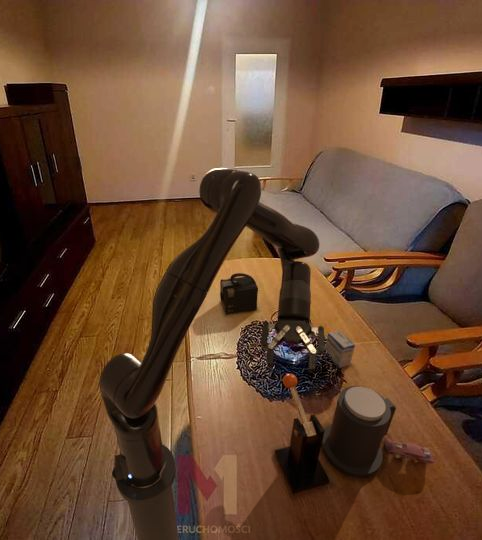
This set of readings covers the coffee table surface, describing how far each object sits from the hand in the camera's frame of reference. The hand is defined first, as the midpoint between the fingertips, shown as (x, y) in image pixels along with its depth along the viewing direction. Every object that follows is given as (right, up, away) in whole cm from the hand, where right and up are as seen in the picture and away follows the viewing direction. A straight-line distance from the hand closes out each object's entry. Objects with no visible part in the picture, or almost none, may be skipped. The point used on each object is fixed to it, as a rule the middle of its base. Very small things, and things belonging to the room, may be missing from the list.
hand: (290, 369), depth 78 cm
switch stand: (+4, -25, +5) cm, 26 cm away
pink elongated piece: (+30, -24, +7) cm, 39 cm away
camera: (-6, +8, +63) cm, 64 cm away
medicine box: (+24, -7, +36) cm, 44 cm away
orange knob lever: (+2, -9, +3) cm, 10 cm away
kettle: (+17, -23, +9) cm, 30 cm away
